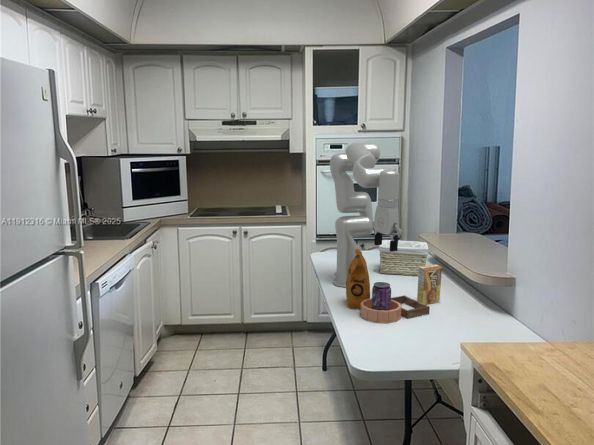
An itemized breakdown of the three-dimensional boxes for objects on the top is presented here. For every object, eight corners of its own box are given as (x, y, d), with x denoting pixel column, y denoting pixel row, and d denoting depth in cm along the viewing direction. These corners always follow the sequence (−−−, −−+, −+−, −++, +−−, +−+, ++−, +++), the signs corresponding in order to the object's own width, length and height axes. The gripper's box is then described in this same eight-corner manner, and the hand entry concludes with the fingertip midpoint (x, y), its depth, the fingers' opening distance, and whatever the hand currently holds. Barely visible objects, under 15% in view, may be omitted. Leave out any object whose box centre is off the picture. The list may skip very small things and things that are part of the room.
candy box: (433, 299, 209) (435, 264, 206) (440, 302, 205) (442, 266, 202) (416, 302, 205) (418, 266, 202) (423, 305, 201) (425, 268, 198)
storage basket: (425, 269, 256) (426, 241, 253) (427, 277, 240) (429, 248, 238) (378, 266, 260) (379, 239, 258) (377, 275, 245) (378, 245, 242)
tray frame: (382, 306, 200) (382, 299, 199) (404, 302, 205) (404, 295, 204) (406, 318, 187) (407, 311, 186) (429, 314, 192) (429, 306, 191)
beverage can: (369, 311, 192) (370, 281, 190) (387, 311, 193) (388, 281, 191) (373, 318, 185) (374, 287, 183) (392, 317, 186) (393, 286, 184)
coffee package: (343, 308, 197) (345, 254, 193) (346, 298, 209) (347, 247, 205) (369, 310, 195) (371, 256, 191) (370, 300, 207) (372, 248, 203)
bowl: (352, 312, 193) (353, 301, 192) (384, 306, 199) (384, 295, 199) (376, 325, 180) (376, 313, 179) (408, 319, 186) (409, 307, 186)
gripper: (366, 200, 191) (364, 243, 195) (393, 207, 176) (391, 254, 180) (382, 199, 195) (380, 242, 198) (410, 206, 180) (408, 252, 183)
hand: (385, 247), depth 189 cm, fingers open, 9 cm apart
